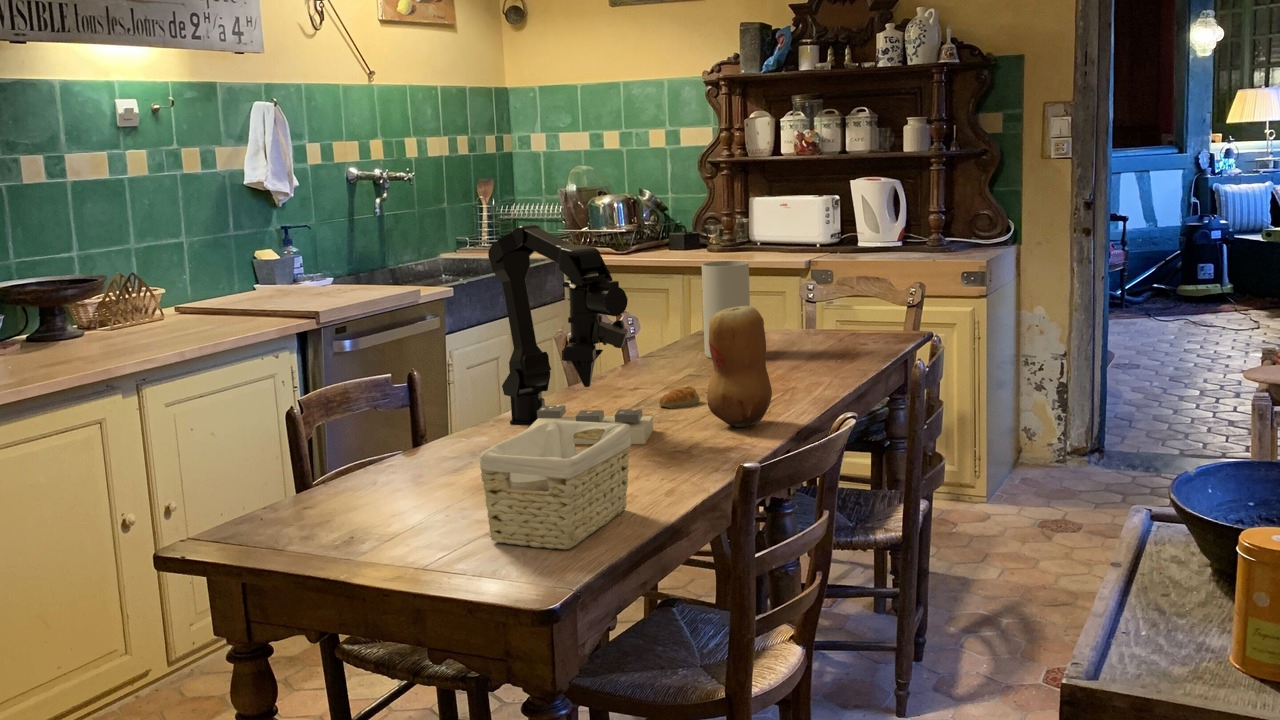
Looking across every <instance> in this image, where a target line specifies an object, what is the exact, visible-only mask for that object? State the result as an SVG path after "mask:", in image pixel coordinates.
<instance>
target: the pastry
mask: <svg viewBox="0 0 1280 720" xmlns="http://www.w3.org/2000/svg"><path fill="white" fill-rule="evenodd" d="M700 400H701V399H700V396H699V393H697V391H696V389H695V388H694V387H692V386H690V385H688V386H683V387H680V388H675V389H671V390H670V391H669V392H668V393H666V394H664V395H663V396H662V397H661V398H660V399H659V407H664V408H668V409H674V408H675V409H676V408H685V407H689V406H693V405H696V404H698V403H700Z"/></svg>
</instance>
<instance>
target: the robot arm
mask: <svg viewBox="0 0 1280 720" xmlns="http://www.w3.org/2000/svg"><path fill="white" fill-rule="evenodd" d="M535 252H536V253H537V254H539V255H541V256H543V257H545V258H547V259H549V260H551V261H553V262H554V263H556V264H557V267H558V270H559V271H561V272H562V274H564V275H565V276H566V277H567V279H566V280H565V281H564V282H563V283H562V287H563V288H568V290H569V291H568V294H569V295H568V296H569V317H567V322H568V324H570V337H568V344H567V345H566V346H565V347H564V348H563V349H562V351H561V361H563V362H571V364H572V365H573V367H574V370H575V372H576V373H577V375H578V377H579V379H580V381H581V383H582V385H583V387H584V388H590V387H591V383H592V377H593V374H594V373H593V372H594V367H595V362H596V360H597V358H599V357H600V355H601V354H602V353H603V351H604V349H597V345H596V344H600V343H602V345H603V346H607V345H611V346H613V347H614V348H616V349H621V348H622V347H623V346H624V345H625V341H626V339H627V335H628V332H629V330H628V328H625V322H624V321H623V320H621V319H618V318H617V319H616V320H615V321H614V322H613V323H611V322H605V321H603V316H602V315H605V316H611V317H619V316H621V315H622V314H624V312H625V311H626V309H627V307H628V302H629V301H628V300H629V299H628V296H627V294H626V292H625V290H624V289H623V288H621V287H620V282H619V281H618V280H613V278H612V275H611V272H610V270H609V268H608V267H607V265H606V263H605V261H604V259H603V256H602V255H601V251H599V249H597V248H596V247H594V246H589V245H585V244H584V245H583V244H573V243H570V242H568V241H567V240H564V239H562V238H560V237H557V236H556V235H554V234H552V233H550V232H548V231H546V230H544V229H543V228H541V227H540V226H539V225H536V224H527V225H520V226H518V227H516V228H515V229H513V230H512V232H510V233H508V234H506V235H505V236H502V237H500V238H499V239H497V240H496V241H493V242H492V243H491V245H490V248H489V249H488V252H487V253H488V254H487V256H488V259H489V264H490V265H491V270H492V272H493V274H494V275H495V276H496V278H497V279H498V280H499V281H500V282H501V283H502V287H503V294H504V300H505V307H506V310H507V311H506V313H507V317H508V322H509V324H508V325H509V328H510V332H511V333H510V334H511V339H512V345H513V351H512V353H511V356H510V359H509V362H508V367H509V369H508V371H509V373H508V375H507V377H506V378H505V380H504V381H503V383H502V384H501V388H502V391H503V395H504V396H508V397H510V409H511V410H510V412H511V420H510V421H509V424H513V425H514V424H515V425H517V424H521V425H523V424H527V425H529V424H530V425H532V424H533V423H534V422H535V421H536V420H537V419H538V418H537V411H538V410H539V409H540V408H541V407H542V406H546V404H545V398H544V397H543V396H542V395H543V394H542V392H549V391H548V390H549V385H550V379H551V371H552V367H551V365H550V359H549V354H548V352H547V351H542V350H541V348H540V347H539V346H538V343H537V338H536V333H535V326H534V322H533V317H532V311H531V306H530V299H529V294H528V286H527V283H526V282H527V281H526V279H527V276H528V273H529V270H530V267H531V261H530V257H531V256H532V255H533V254H534V253H535Z"/></svg>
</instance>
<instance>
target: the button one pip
mask: <svg viewBox="0 0 1280 720" xmlns="http://www.w3.org/2000/svg"><path fill="white" fill-rule="evenodd" d="M604 416H605V412H604V410H603V409H602V410H599V409H598V410H596V409H595V410H588V409H587V410H582V409H581V410H580V411H579V412H578V413H577V414H576V415H575V417H576V421H581V422H599V423H600V422H601V421H602V419H603V418H604Z"/></svg>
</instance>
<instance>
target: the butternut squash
mask: <svg viewBox="0 0 1280 720" xmlns="http://www.w3.org/2000/svg"><path fill="white" fill-rule="evenodd" d="M764 321H765V320H764V318H763V317H762V314H761V313H760V311H759V310H758V309H757V308H756V307H753V306H751V305H750V306H740V307H732V308H727V309H724V310H722V311H720V312H717V313H716V314H715V315H714V316H713V317H712V318H711V320H710V325H709V347H710V353H711V357H712V359H711V360H712V363H713V372H712V374H711V376H710V379H709V382H708V385H707V391H706V399H707V407H708V409H709V410H710V412H711V413H712V414H713V415H714V416H715V417H716V418H718V419H719V420H721V421H723V422H724V423H725V424H726V425H729V426H731V427H734V428H741V427H744V428H745V427H749V425H750V426H752V425H755V424H758V423H760V422H761V420H762V419H763V418H764V416H765V415H766V413H767V411H768V409H769V407H770V404H771V401H772V398H773V397H772V395H773V390H772V389H773V388H772V385H771V381H770V376H769V373H768V370H767V363H766V362H767V361H766V357H767V356H766V355H767V341H766V332H765V322H764Z"/></svg>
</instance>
